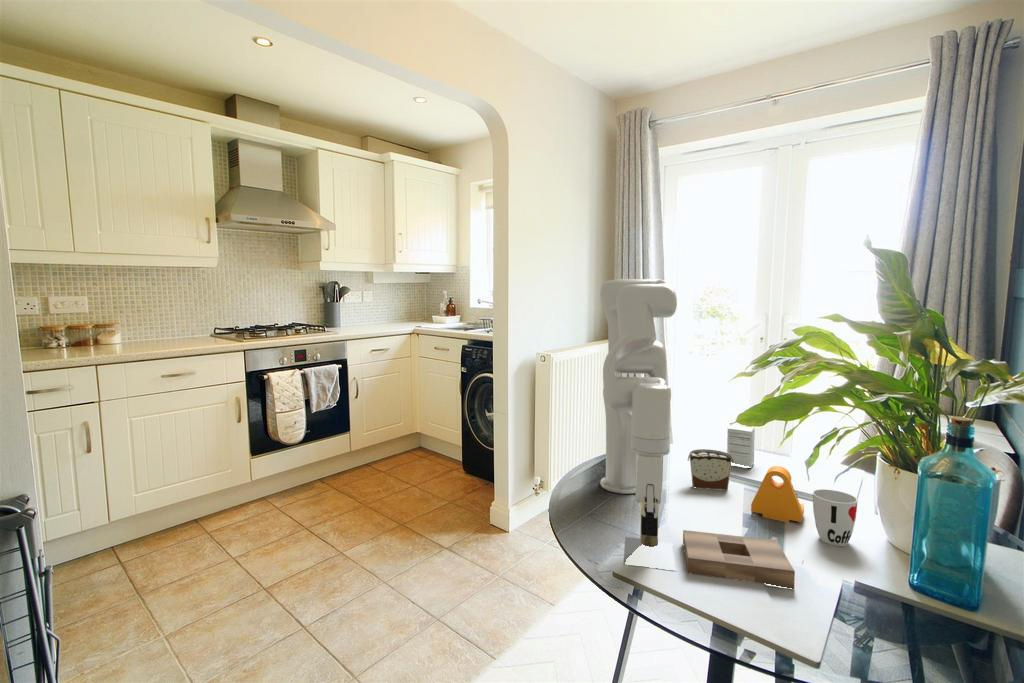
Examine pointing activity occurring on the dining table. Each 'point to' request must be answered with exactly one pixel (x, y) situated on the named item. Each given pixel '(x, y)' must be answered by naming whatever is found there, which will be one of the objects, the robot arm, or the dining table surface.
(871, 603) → the dining table surface
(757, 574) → the mortise block
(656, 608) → the dining table surface
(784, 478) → the bracket
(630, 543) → the mat
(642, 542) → the peg
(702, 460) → the food container
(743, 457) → the supplement box
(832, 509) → the cup
